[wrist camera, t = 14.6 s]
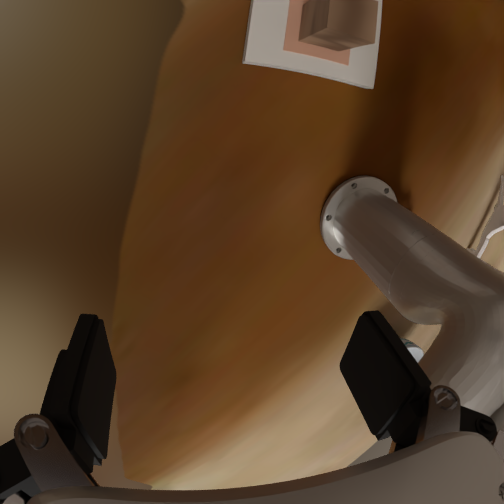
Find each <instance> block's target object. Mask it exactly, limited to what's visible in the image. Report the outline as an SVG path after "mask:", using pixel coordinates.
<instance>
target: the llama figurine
mask: <svg viewBox="0 0 504 504" xmlns="http://www.w3.org/2000/svg"><path fill="white" fill-rule="evenodd" d="M500 178H501V185H500V192H499V197H498V202H497V204H496V205H495V207H494V212H493V214H492V216H491V217H490V219H489V221H488V223H487V224H486V226H485V228H484V231H483V233H482V236H481V240H480V243H479V245H478V247H477V250H476V251H475V250H474V249H473V248H472V249H469V248H466V249H467V250H468V251H469V252H471V253H472V254H474V255H475V256H477V257H478V258H480V257H481V255H482V253H483V252H484V250H485V248H486V246H487V244H488V242H489V238H490V237H491V236H492V235H493V234H495V233H497V232H499V231H501V230H503V229H504V205H503V200H504V179H503V175H501V177H500ZM502 185H503V188H502ZM501 194H502V195H501Z"/></svg>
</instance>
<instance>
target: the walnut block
mask: <svg viewBox="0 0 504 504" xmlns="http://www.w3.org/2000/svg"><path fill="white" fill-rule="evenodd" d="M377 13H378V1H376V0H309V1H307V2H306V3H305V4H303V7H302V15H301V23H300V31H299V39H298V41H299V42H303V43H307V44H312V45H316V46H320V47H324V48H328V49H331V50H335V51H338V52H339V51H343V50H347V49H351V48H355V47H360V46H365V45H369V44H374V43H375V37H376V26H377Z"/></svg>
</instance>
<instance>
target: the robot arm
mask: <svg viewBox="0 0 504 504" xmlns="http://www.w3.org/2000/svg"><path fill="white" fill-rule="evenodd" d="M327 215H328V216H327ZM326 216H327V217H326ZM320 229H321V235H322V238H323V240H324V242H325V244H326V245H327V247H328V248H329V249H330V250H331V251H332V252H333V253H334V254H335V255H337V256H339V257H341V258H345V259H354V260H355V262H356V263H357V264H358V265H359V266H360V267H361V268H362V270H363V271H364V272H365V273H366V274H367V275H368V276H369V278H370V279H371V280H372V281H373V282H374V283H375V284H376V286H377V287H378V288H379V289H380V290H381V291H382V293H383V294H384V295H385V296H386V297H387V299H388V300H389V301H390V302H391V303H392V305H393V306H394V307H395V308H396V309H397V310H398V311H399V313H400V314H401V315H402V316H404V317H405V318H406V319H408V320H410V321H412V322H414V323H418V324H423V325H437V324H441V325H442V326H441V330H440V332H439V334H438V335H437V337H436V338H435V340H434V341H433V343H432V345H431V346H430V348H429V349H428V350H427V352H426V353H425V354H424V355H423V357H422V358H421V359H420V361H419V362H418V363H417V361H416V360H415V358H414V357H413V356H412V354H411V353H410V351H409V350H408V349H407V347H406V346H405V345H404V343H403V342H402V340H401V339H400V338H399V336H398V335H397V334H396V332H395V331H394V330H393V328H392V327H391V326H390V324H389V323H388V322H387V320H386V319H385V318H384V316H383V315H382V314H381V313H380V312H379V311H366V312H364V313H363V314H362V316H360V317H359V319H358V321H357V324H356V326H355V329H354V331H353V334H352V336H351V338H350V341H349V343H348V346H347V348H346V350H345V352H344V355H343V357H342V359H341V362H340V370H341V373H342V375H343V377H344V379H345V381H346V383H347V385H348V387H349V389H350V391H351V393H352V395H353V397H354V399H355V401H356V403H357V405H358V407H359V409H360V411H361V413H362V415H363V417H364V419H365V421H366V423H367V425H368V427H369V429H370V431H371V433H372V434H373V435H375V436H376V438H377V440H378V441H379V440H382V439H385V438H388V437H389V436H391V438H392V443H391V447H390V450H389V454H387V455H385V456H382V457H379V458H376V459H373V460H370V461H367V462H364V463H360V464H357V465H354V466H350V467H347V468H343V469H339V470H336V471H332V472H328V473H324V474H319V475H315V476H310V477H306V478H301V479H296V480H290V481H285V482H279V483H273V484H266V485H258V486H250V487H241V488H230V489H215V490H142V489H128V488H112V487H100V485H99V484H98V483H97V481H96V480H95V479H94V477H93V476H92V475H91V473H92V472H93V465H99V466H100V465H102V459H106V457H107V450H108V439H109V429H110V420H111V412H112V405H113V397H114V391H115V384H116V369H115V366H114V362H113V359H112V355H111V351H110V347H109V343H108V339H107V335H106V331H105V327H104V322H103V320H102V319H98V316H97V315H92V314H81V315H80V316H79V319H78V322H77V324H76V327H75V330H74V332H73V335H72V338H71V340H70V344H69V346H68V349H67V350H61V351H60V353H59V355H58V358H57V360H56V363H55V366H54V369H53V372H52V375H51V378H50V381H49V384H48V387H47V391H46V394H45V397H44V401H43V404H42V408H41V411H40V414H29V415H25V416H24V417H22V418H21V419H20V420H19V421H18V422H17V424H16V426H15V429H14V439H12V440H10V441H9V442H7V443H5V444H3V445H2V446H0V504H504V273H503V272H501V271H500V270H498V269H496V268H494V267H493V266H491V265H489V264H488V263H486V262H484V261H483V260H481V259H480V258H478V257H477V256H475V255H474V254H472V253H471V252H469V251H468V250H467V249H465V248H464V247H462V246H461V245H459V244H458V243H457V242H455V241H454V240H452V239H451V238H450V237H448V236H447V235H445V234H444V233H442V232H441V231H439V230H438V229H437V228H435V227H434V226H432V225H431V224H429V223H428V222H426V221H425V220H423V219H422V218H420V217H419V216H417V215H416V214H414V213H413V212H411V211H410V210H408V209H407V208H405V207H403V206H402V205H400V204H399V203H397V199H396V196H395V194H394V192H393V190H392V189H391V187H390V186H388V185H387V184H386V183H385V182H383V181H382V180H380V179H378V178H375V177H372V176H357V177H353V178H351V179H349V180H347V181H345V182H343V183H342V184H340V185H339V186H338V187H337V188H336V189H335V190H334V191H333V192H332V193H331V194H330V196H329V197H328V199H327V200H326V203H325V205H324V207H323V210H322V214H321V218H320Z"/></svg>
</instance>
